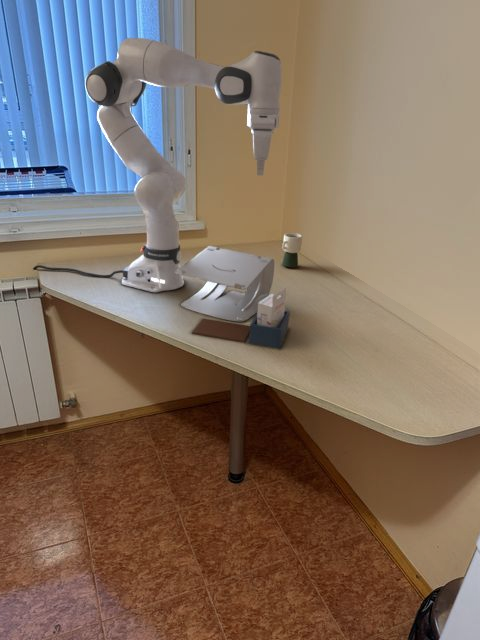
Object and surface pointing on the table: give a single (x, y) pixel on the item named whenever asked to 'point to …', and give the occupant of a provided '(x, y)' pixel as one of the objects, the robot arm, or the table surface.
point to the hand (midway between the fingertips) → (260, 172)
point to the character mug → (291, 249)
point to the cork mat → (222, 330)
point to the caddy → (268, 333)
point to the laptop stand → (228, 282)
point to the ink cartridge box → (272, 310)
